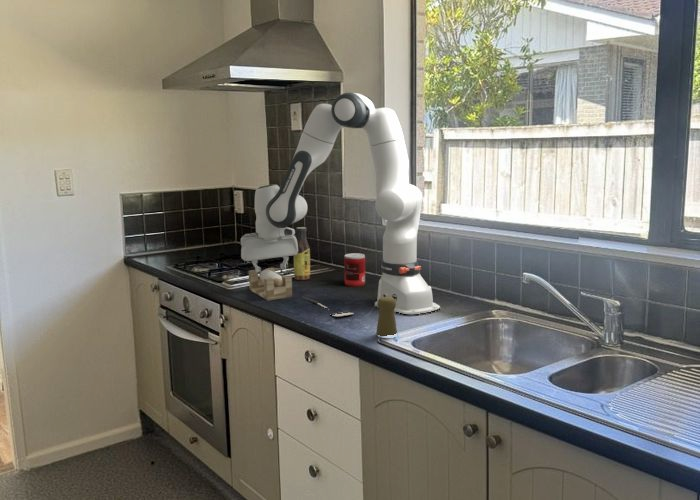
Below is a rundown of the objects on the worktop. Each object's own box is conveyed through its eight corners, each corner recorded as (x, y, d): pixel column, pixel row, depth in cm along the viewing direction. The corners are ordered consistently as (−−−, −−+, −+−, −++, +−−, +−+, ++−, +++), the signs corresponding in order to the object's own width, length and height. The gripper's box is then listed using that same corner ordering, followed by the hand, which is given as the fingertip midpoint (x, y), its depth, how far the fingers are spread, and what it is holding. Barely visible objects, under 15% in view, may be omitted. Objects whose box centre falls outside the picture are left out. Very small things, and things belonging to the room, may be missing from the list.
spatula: (337, 320, 205) (337, 316, 204) (295, 299, 230) (295, 295, 229) (355, 317, 208) (355, 313, 208) (311, 297, 233) (310, 293, 232)
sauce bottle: (307, 281, 254) (306, 229, 250) (292, 280, 255) (290, 228, 251) (312, 277, 260) (311, 226, 256) (296, 276, 261) (295, 226, 258)
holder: (292, 297, 231) (291, 277, 230) (267, 300, 227) (267, 280, 225) (272, 286, 246) (271, 267, 245) (249, 289, 242) (248, 270, 241)
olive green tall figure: (398, 338, 186) (399, 300, 184) (377, 339, 186) (377, 300, 184) (395, 331, 192) (395, 294, 190) (374, 332, 192) (374, 295, 190)
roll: (284, 291, 230) (288, 277, 230) (271, 288, 228) (275, 274, 227) (266, 282, 244) (270, 269, 244) (254, 279, 241) (258, 266, 241)
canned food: (361, 281, 253) (361, 252, 251) (368, 285, 246) (368, 256, 244) (341, 282, 251) (341, 253, 249) (348, 287, 243) (348, 258, 241)
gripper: (243, 235, 225) (245, 276, 227) (299, 229, 234) (300, 268, 237) (237, 233, 230) (239, 272, 232) (291, 227, 240) (293, 265, 242)
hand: (270, 270), depth 235 cm, fingers open, 8 cm apart
